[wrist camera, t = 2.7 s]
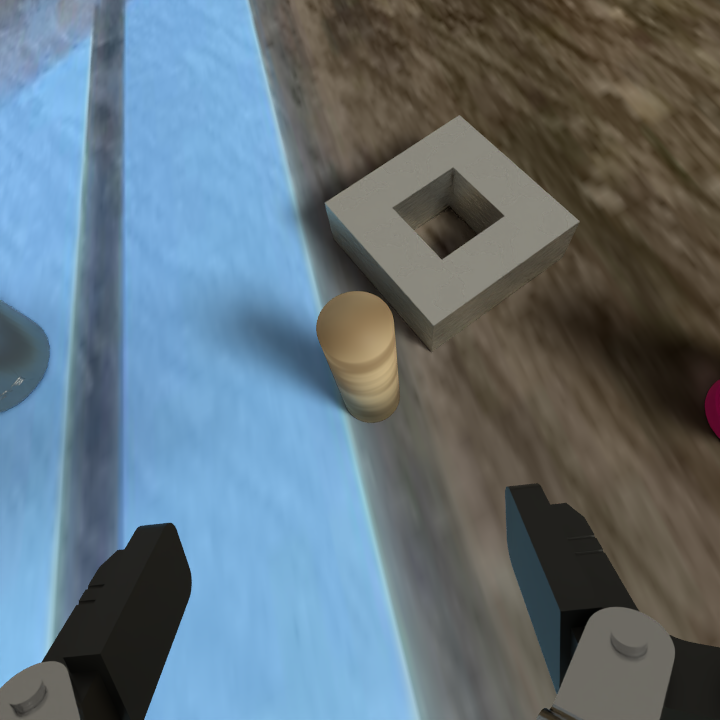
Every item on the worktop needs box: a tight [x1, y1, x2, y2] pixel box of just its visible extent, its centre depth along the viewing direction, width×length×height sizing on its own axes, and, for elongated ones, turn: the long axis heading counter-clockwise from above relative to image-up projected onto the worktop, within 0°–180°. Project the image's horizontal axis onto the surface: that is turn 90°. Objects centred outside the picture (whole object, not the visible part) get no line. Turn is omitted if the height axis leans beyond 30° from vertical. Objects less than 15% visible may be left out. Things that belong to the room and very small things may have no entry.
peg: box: [316, 291, 400, 423], centre depth 36 cm, size 4×4×13 cm
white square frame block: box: [325, 115, 579, 352], centre depth 44 cm, size 14×14×5 cm
